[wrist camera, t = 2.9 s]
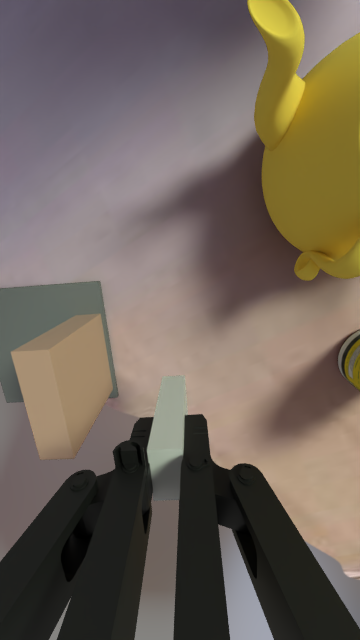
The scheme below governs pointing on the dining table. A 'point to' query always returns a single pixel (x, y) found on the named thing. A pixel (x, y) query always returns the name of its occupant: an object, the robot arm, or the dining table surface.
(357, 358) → the pill bottle
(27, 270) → the dining table surface
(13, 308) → the mat
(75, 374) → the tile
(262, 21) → the teapot
